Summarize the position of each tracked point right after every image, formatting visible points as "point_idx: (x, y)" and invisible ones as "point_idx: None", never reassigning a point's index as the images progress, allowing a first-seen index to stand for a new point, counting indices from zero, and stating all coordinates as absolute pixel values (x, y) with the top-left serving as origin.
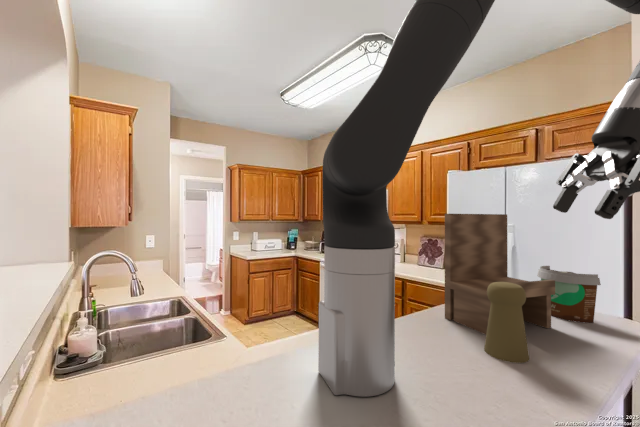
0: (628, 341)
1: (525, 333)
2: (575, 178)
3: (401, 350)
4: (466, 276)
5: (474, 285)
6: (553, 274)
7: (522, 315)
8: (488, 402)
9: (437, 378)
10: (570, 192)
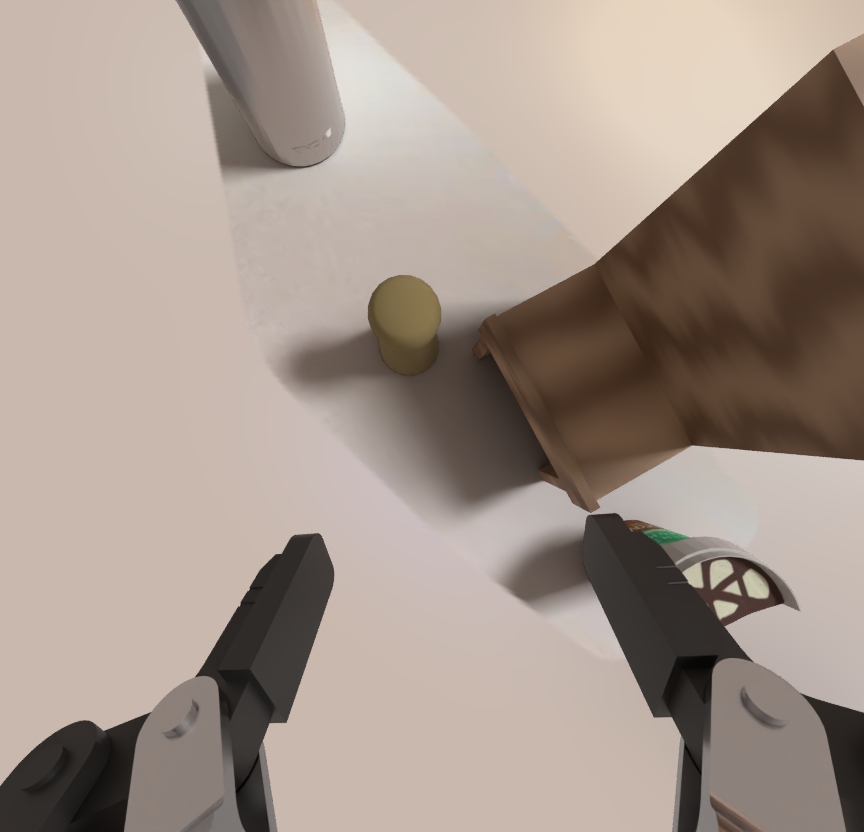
0: (497, 574)
1: (393, 359)
2: (705, 818)
3: (392, 189)
4: (627, 309)
5: (555, 310)
6: (680, 558)
7: (390, 348)
8: (270, 268)
9: (315, 224)
10: (657, 666)
